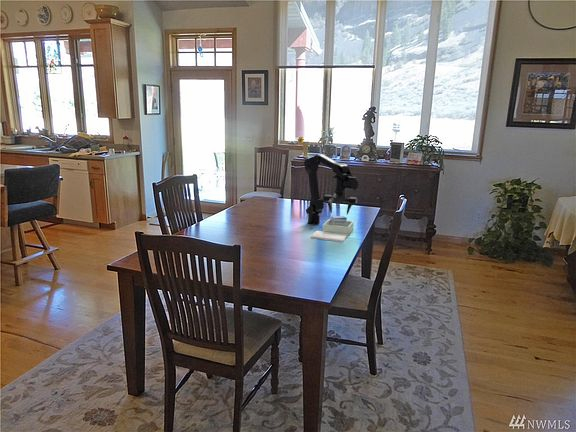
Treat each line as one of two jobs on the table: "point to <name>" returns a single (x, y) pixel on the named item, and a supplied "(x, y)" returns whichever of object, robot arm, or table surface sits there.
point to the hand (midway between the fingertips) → (339, 213)
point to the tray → (329, 236)
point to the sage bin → (338, 227)
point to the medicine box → (338, 220)
